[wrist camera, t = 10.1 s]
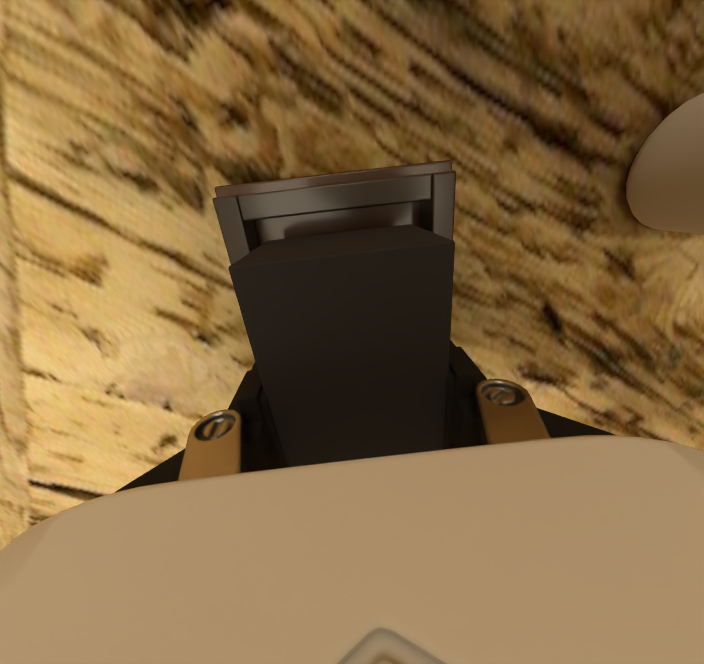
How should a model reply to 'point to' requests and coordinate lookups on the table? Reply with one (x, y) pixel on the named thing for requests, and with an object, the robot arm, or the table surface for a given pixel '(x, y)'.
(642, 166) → the beverage can
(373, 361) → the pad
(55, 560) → the robot arm
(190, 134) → the table surface
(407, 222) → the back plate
